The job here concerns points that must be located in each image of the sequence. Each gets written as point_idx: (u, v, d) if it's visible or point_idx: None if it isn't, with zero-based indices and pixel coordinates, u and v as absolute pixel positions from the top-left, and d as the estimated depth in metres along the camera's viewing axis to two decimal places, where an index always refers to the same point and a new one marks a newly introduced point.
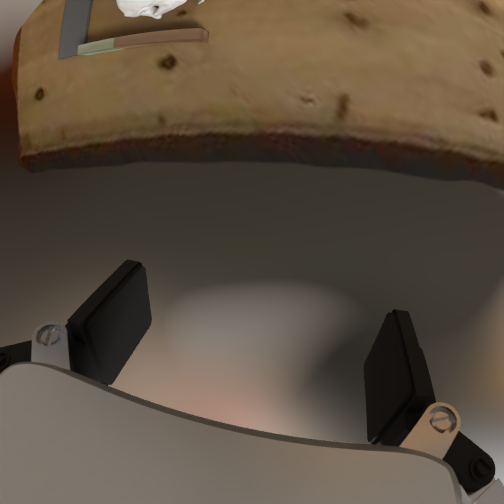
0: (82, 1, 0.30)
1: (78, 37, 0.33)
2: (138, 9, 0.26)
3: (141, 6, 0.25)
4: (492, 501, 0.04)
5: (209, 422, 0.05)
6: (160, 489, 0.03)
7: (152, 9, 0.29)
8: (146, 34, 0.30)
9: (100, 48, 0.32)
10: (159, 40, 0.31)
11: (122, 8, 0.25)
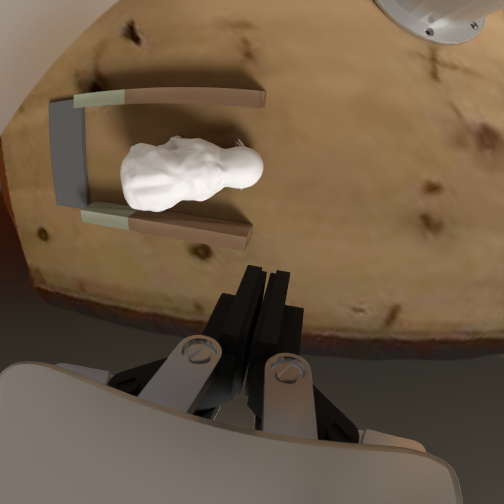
0: (71, 131, 0.30)
1: (77, 185, 0.33)
2: (159, 211, 0.26)
3: (163, 210, 0.25)
4: None
5: (209, 422, 0.05)
6: (160, 489, 0.03)
7: None
8: (172, 227, 0.30)
9: (111, 225, 0.32)
10: (191, 240, 0.31)
11: None
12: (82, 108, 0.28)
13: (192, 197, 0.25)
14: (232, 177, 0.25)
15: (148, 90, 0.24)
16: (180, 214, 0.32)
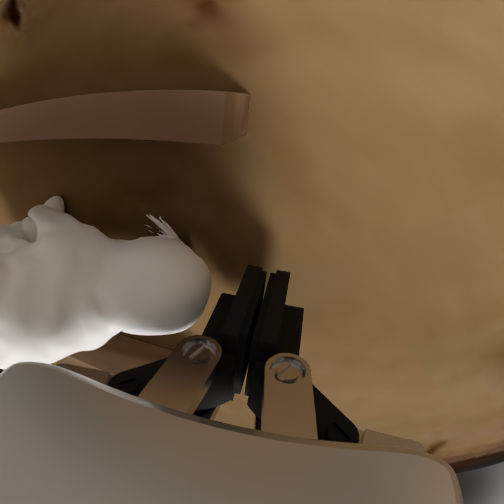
0: None
1: None
2: None
3: None
4: None
5: (209, 422, 0.05)
6: (160, 489, 0.03)
7: None
8: (84, 365, 0.15)
9: None
10: None
11: None
12: None
13: (59, 359, 0.10)
14: (129, 328, 0.10)
15: None
16: None
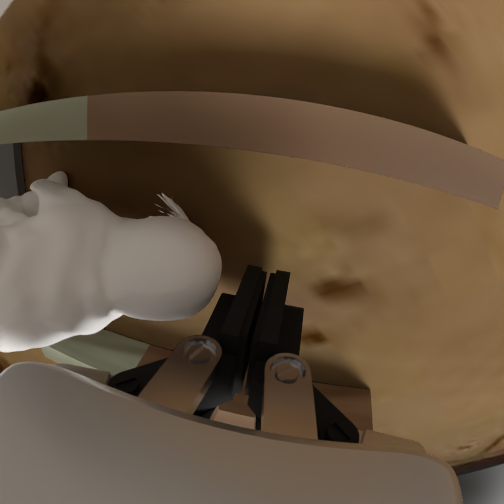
0: (2, 185, 0.13)
1: None
2: None
3: None
4: None
5: (209, 422, 0.05)
6: (160, 489, 0.03)
7: None
8: (224, 414, 0.14)
9: None
10: None
11: None
12: None
13: (54, 342, 0.09)
14: (134, 311, 0.09)
15: (159, 98, 0.07)
16: None
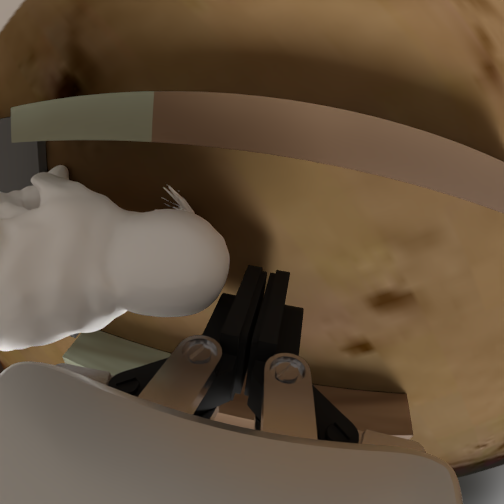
0: (21, 187, 0.13)
1: None
2: None
3: None
4: None
5: (209, 422, 0.05)
6: (160, 489, 0.03)
7: None
8: None
9: None
10: None
11: None
12: None
13: (55, 340, 0.09)
14: (140, 307, 0.09)
15: (248, 103, 0.07)
16: None
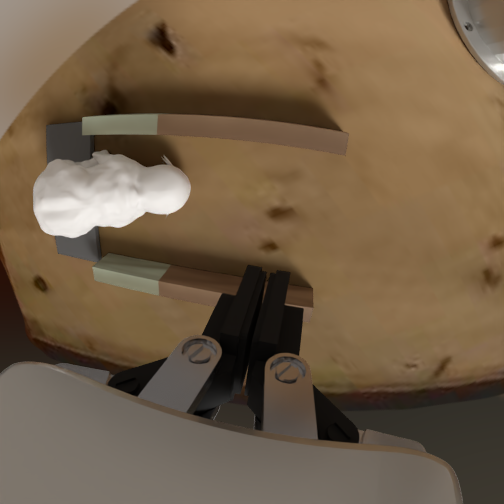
0: None
1: None
2: None
3: None
4: None
5: (209, 422, 0.05)
6: (160, 489, 0.03)
7: None
8: (219, 295, 0.25)
9: (135, 288, 0.26)
10: None
11: (50, 233, 0.20)
12: None
13: (105, 224, 0.20)
14: (149, 202, 0.20)
15: (193, 118, 0.19)
16: (224, 275, 0.27)
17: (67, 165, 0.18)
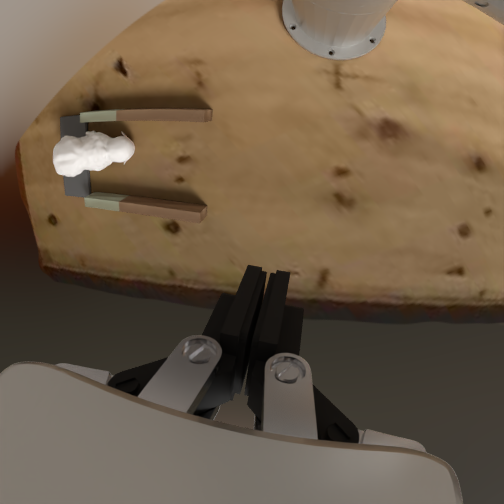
0: None
1: (81, 180, 0.44)
2: (73, 176, 0.38)
3: (74, 175, 0.37)
4: None
5: (209, 422, 0.05)
6: (160, 489, 0.03)
7: None
8: (149, 207, 0.41)
9: (107, 208, 0.43)
10: (162, 216, 0.42)
11: (61, 174, 0.37)
12: (86, 122, 0.39)
13: (89, 167, 0.37)
14: (111, 155, 0.37)
15: (132, 111, 0.35)
16: (156, 199, 0.43)
17: (71, 138, 0.35)
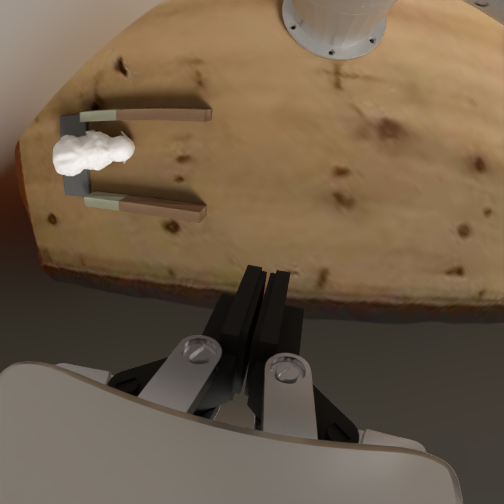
0: None
1: (81, 179, 0.44)
2: None
3: (74, 174, 0.37)
4: None
5: (209, 422, 0.05)
6: (160, 489, 0.03)
7: None
8: (149, 207, 0.41)
9: (107, 207, 0.43)
10: (162, 216, 0.42)
11: None
12: None
13: (89, 166, 0.37)
14: (111, 154, 0.37)
15: (132, 110, 0.35)
16: (156, 199, 0.43)
17: (71, 137, 0.35)
